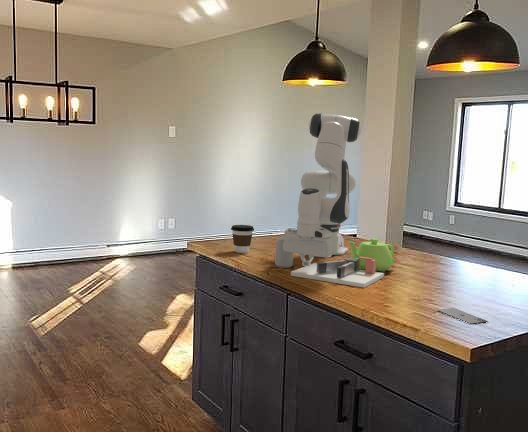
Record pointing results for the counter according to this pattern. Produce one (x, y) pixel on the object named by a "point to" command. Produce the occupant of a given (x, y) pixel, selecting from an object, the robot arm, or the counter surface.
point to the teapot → (374, 254)
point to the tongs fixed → (348, 267)
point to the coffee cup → (242, 237)
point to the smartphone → (462, 315)
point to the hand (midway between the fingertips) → (306, 265)
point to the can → (282, 255)
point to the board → (351, 279)
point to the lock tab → (369, 264)
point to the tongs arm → (329, 266)
